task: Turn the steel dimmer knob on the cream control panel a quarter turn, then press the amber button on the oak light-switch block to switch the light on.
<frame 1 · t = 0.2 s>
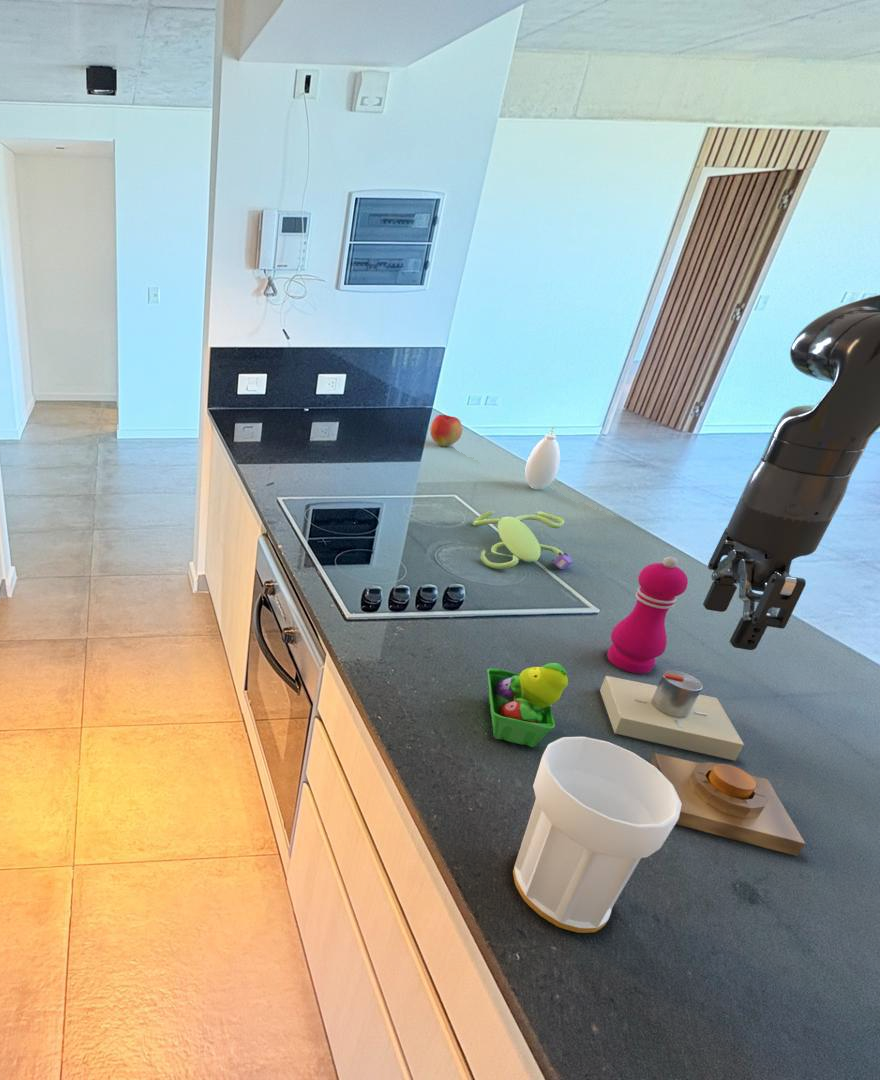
hand: (726, 627, 74), 22 cm above the worktop, tool pointing down, fingers open, 8 cm apart
pepper mill: (628, 663, 103), on the worktop
fruit basket: (514, 724, 91), on the worktop
cup: (558, 892, 68), on the worktop
switch block: (717, 806, 77), on the worktop
dimmer panel: (662, 723, 90), on the worktop
figurine: (517, 547, 140), on the worktop
dimmer knob: (676, 692, 88), point 6 cm above the worktop, hinge at 0.0°
light button: (731, 781, 75), point 4 cm above the worktop, slide at 0.1 cm
apple: (443, 445, 207), on the worktop
sauce bottle: (535, 489, 172), on the worktop
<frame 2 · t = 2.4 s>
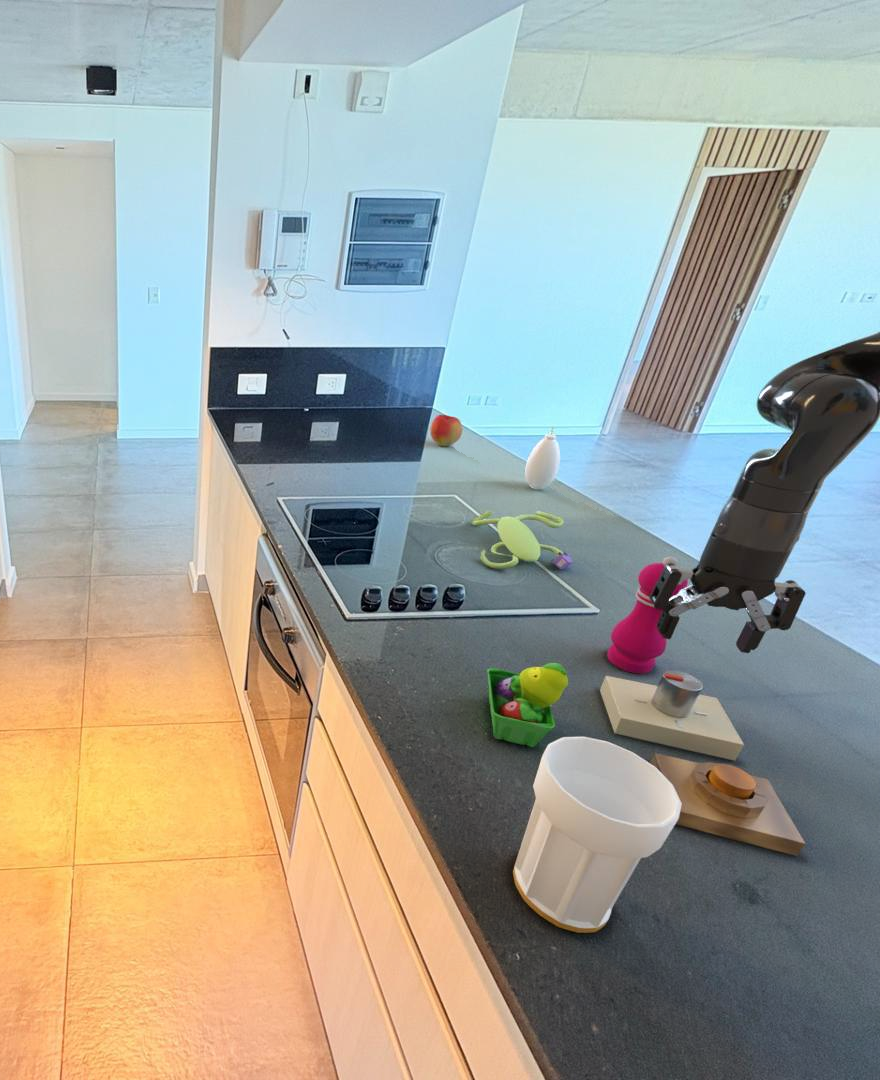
hand: (702, 642, 83), 15 cm above the worktop, tool pointing down, fingers open, 8 cm apart
nothing on the worktop moved.
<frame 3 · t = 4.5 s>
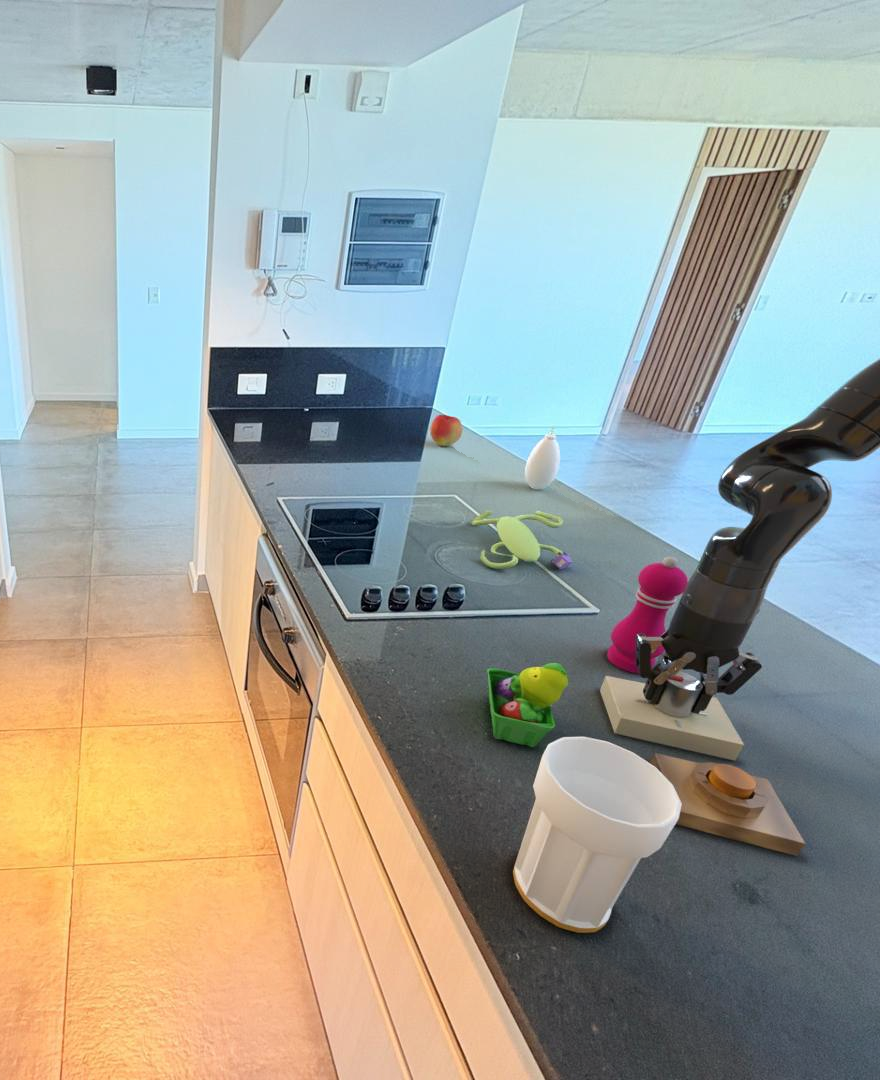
hand: (671, 704, 89), 4 cm above the worktop, tool pointing down, fingers closed on dimmer knob, 4 cm apart
dimmer knob: (676, 692, 88), point 6 cm above the worktop, hinge at 0.1°, touching gripper
everything else where it was.
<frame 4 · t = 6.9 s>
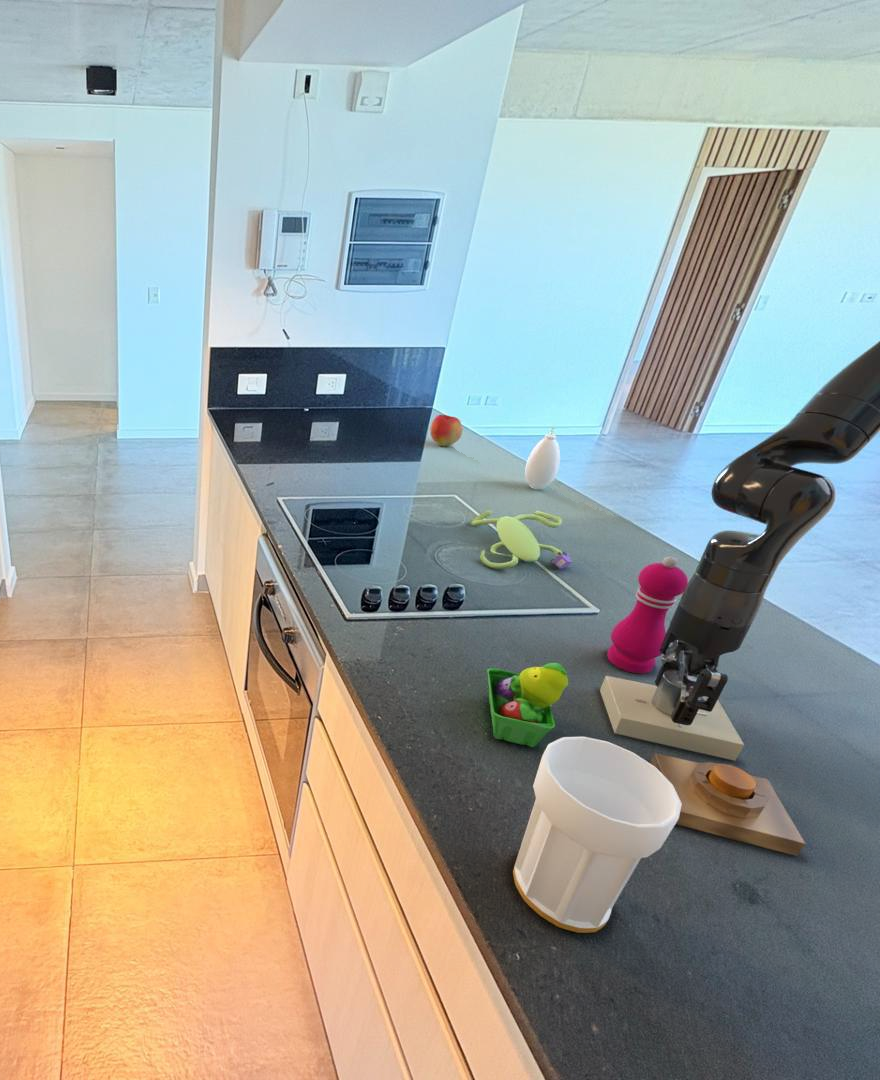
hand: (671, 704, 89), 4 cm above the worktop, tool pointing down, fingers open, 7 cm apart
dimmer knob: (676, 692, 88), point 6 cm above the worktop, hinge at 93.7°
everything else where it was.
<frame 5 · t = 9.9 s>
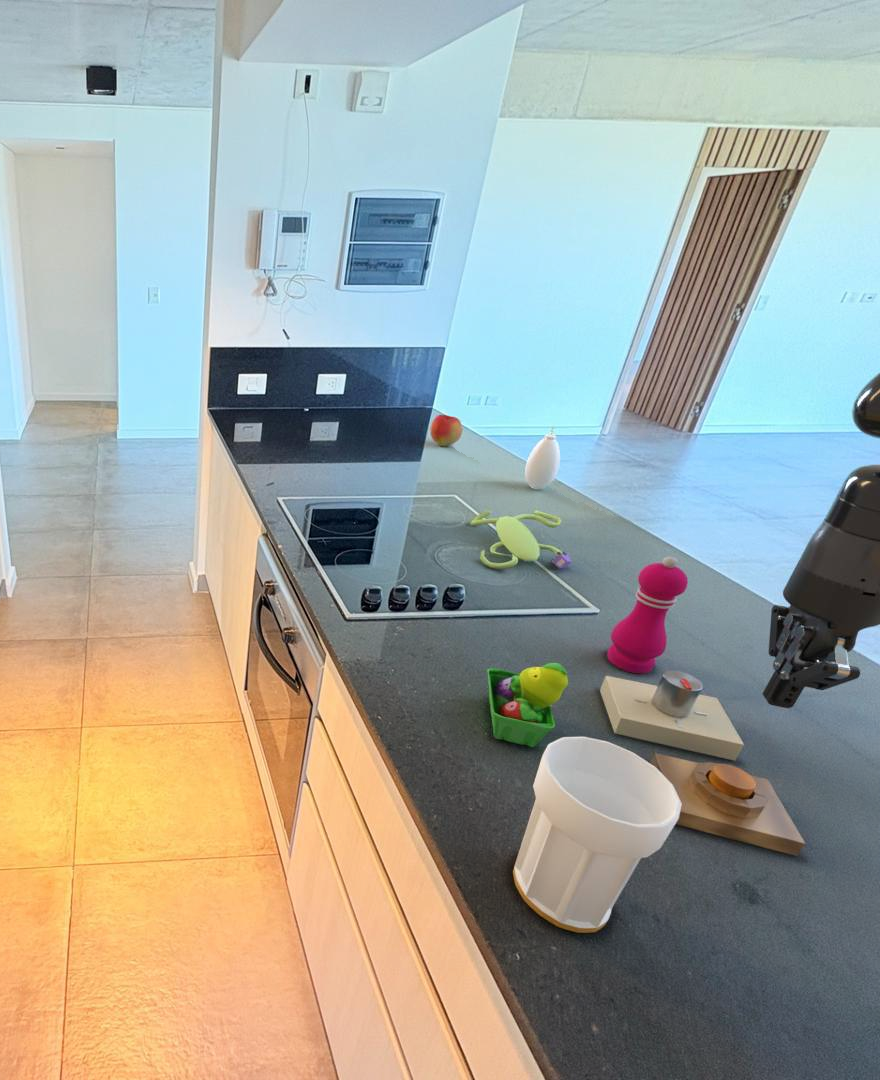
hand: (776, 702, 70), 17 cm above the worktop, tool pointing down, fingers closed
nothing on the worktop moved.
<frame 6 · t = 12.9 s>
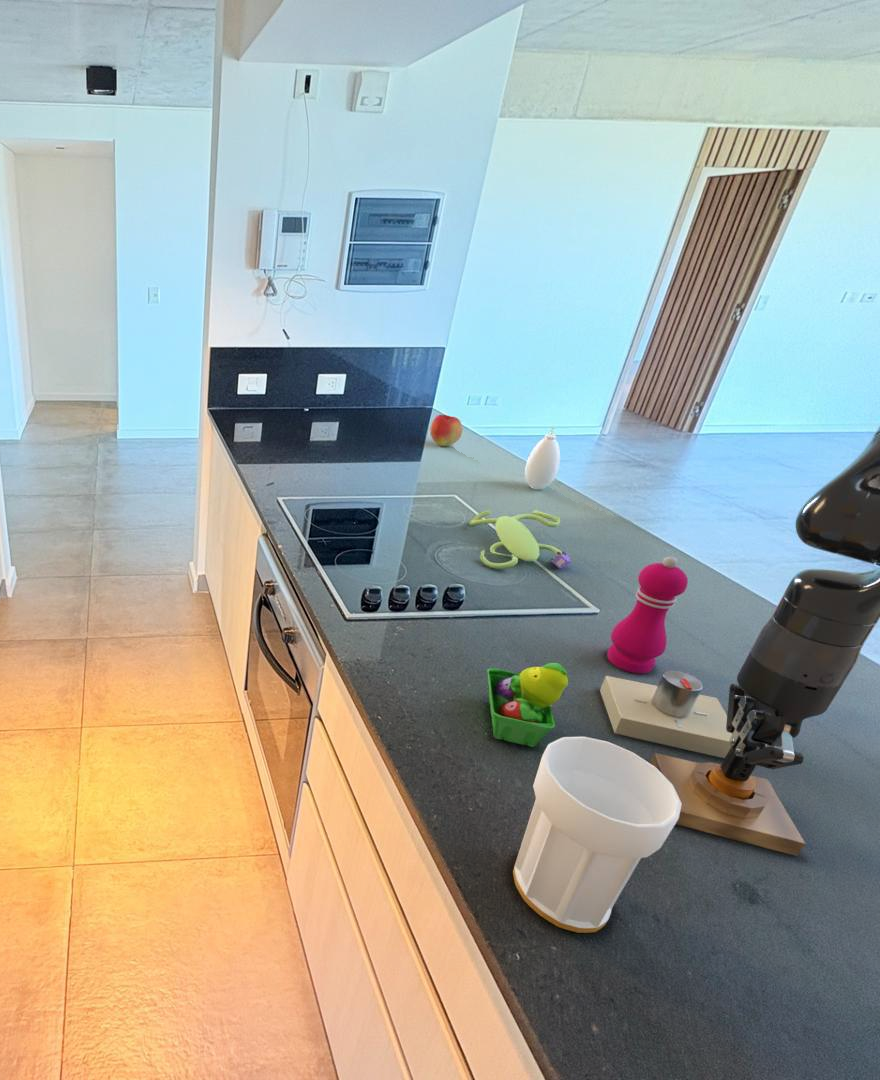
hand: (732, 775, 75), 5 cm above the worktop, tool pointing down, fingers closed
light button: (731, 781, 75), point 4 cm above the worktop, slide at 0.0 cm, touching gripper
everything else where it was.
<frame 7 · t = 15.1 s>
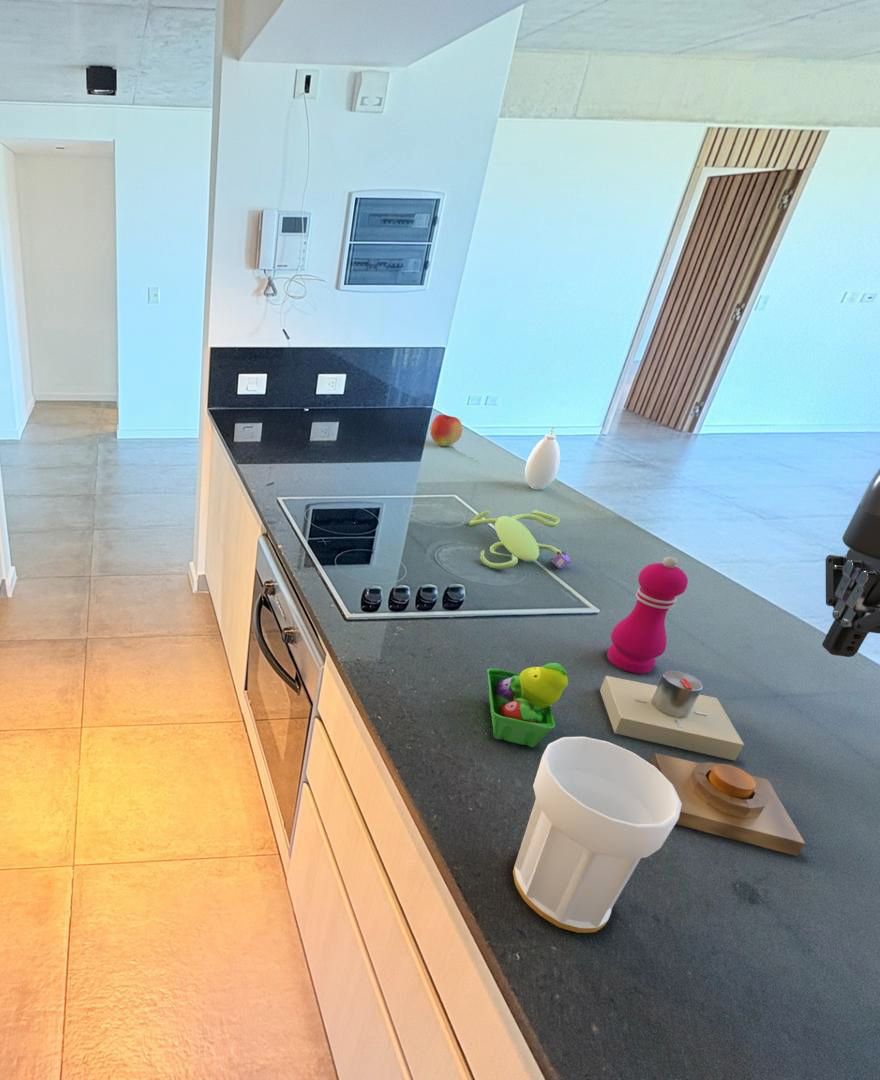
hand: (836, 652, 69), 22 cm above the worktop, tool pointing down, fingers closed
light button: (731, 781, 75), point 4 cm above the worktop, slide at 0.1 cm
everything else where it was.
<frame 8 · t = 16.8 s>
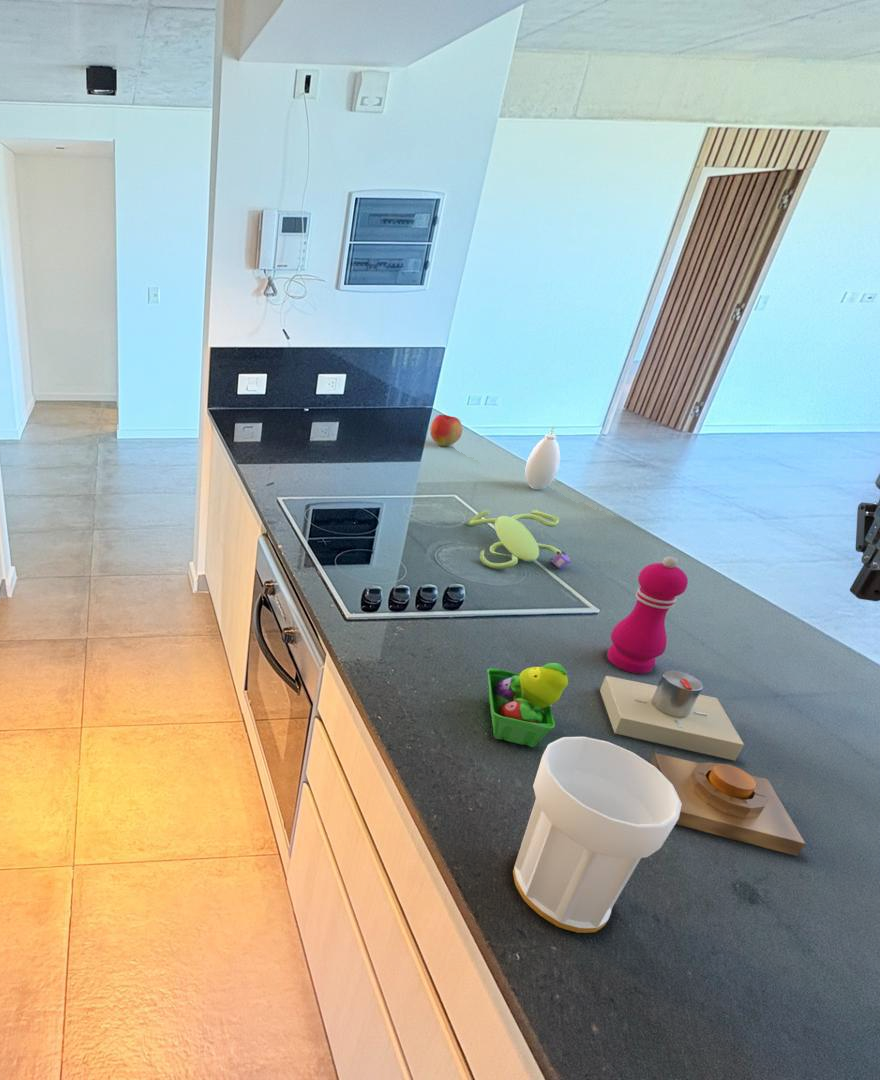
hand: (864, 596, 70), 27 cm above the worktop, tool pointing down, fingers closed
nothing on the worktop moved.
at the end: dimmer knob at +94° (first picture: +0°); light button pushed in 1.1 cm at the most during the clip, back to where it started at the end; light button slide at 0.1 cm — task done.
